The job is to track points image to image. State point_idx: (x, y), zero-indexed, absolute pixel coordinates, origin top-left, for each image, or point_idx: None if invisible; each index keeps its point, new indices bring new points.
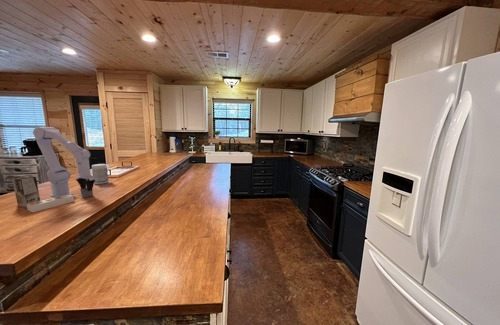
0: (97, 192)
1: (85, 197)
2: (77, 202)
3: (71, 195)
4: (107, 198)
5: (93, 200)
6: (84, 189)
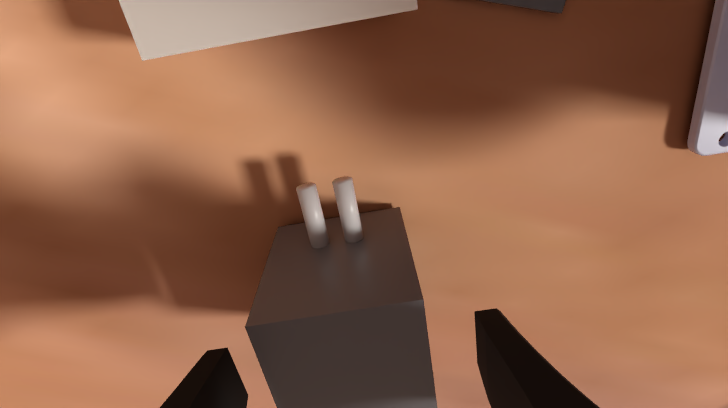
0: (434, 383)
1: (280, 229)
2: (72, 67)
3: (200, 34)
4: (17, 383)
5: (30, 259)
6: (287, 338)
